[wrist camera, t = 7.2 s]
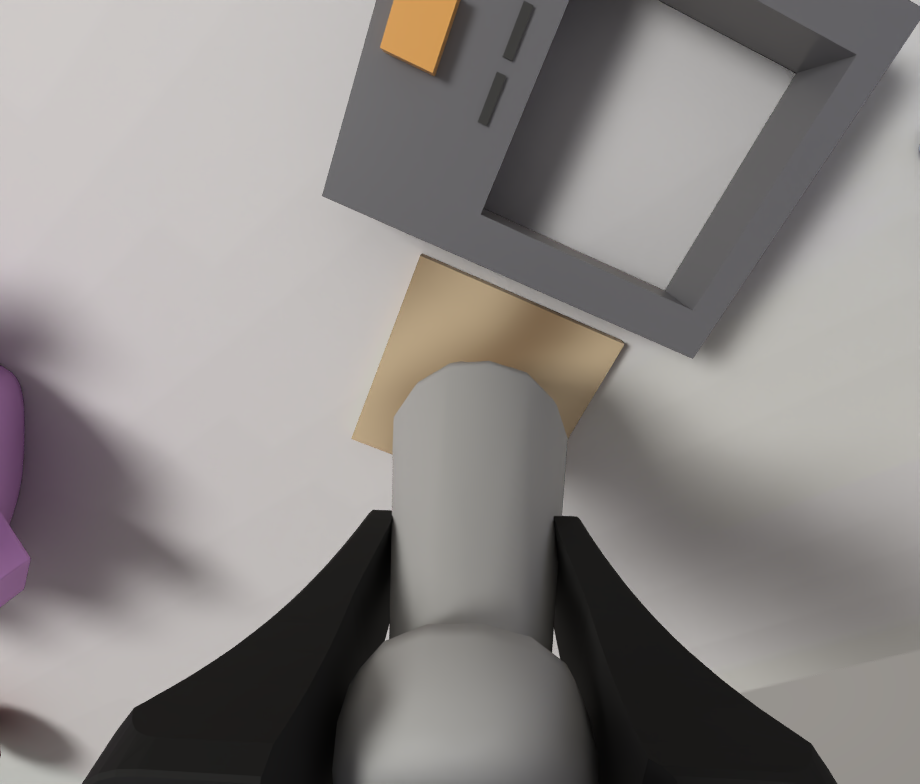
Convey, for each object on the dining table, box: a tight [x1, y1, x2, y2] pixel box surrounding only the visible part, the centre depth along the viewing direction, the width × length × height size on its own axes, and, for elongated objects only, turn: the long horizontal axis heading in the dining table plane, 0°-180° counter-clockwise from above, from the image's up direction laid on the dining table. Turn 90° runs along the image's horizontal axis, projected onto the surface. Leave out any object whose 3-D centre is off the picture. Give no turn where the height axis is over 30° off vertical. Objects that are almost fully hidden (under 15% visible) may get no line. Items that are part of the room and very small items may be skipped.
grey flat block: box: [322, 0, 920, 359], centre depth 16 cm, size 14×11×4 cm
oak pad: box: [352, 254, 624, 455], centre depth 22 cm, size 9×9×1 cm
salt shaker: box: [332, 361, 598, 784], centre depth 13 cm, size 6×6×13 cm
